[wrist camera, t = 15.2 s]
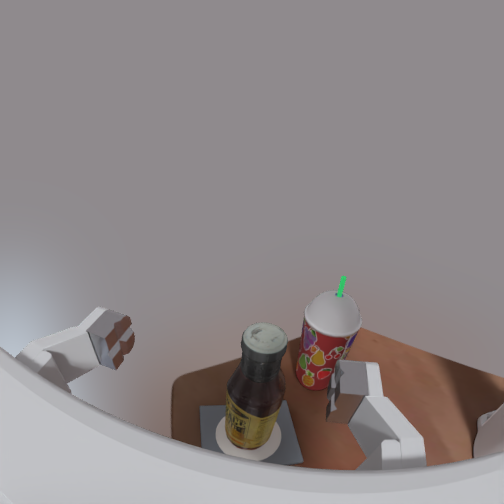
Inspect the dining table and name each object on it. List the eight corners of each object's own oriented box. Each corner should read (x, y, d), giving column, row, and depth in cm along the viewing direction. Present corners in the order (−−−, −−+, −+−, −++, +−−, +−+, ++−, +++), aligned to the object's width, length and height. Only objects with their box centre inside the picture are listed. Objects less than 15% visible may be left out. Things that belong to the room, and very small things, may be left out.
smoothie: (347, 381, 44) (385, 282, 35) (313, 405, 39) (349, 303, 31) (314, 354, 50) (339, 256, 41) (279, 373, 45) (298, 271, 37)
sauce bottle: (219, 421, 35) (219, 314, 27) (261, 412, 37) (280, 306, 29) (232, 459, 30) (239, 365, 21) (278, 448, 32) (310, 350, 23)
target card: (285, 402, 40) (286, 399, 40) (302, 462, 30) (303, 460, 30) (199, 407, 38) (199, 405, 38) (203, 472, 28) (203, 470, 28)
